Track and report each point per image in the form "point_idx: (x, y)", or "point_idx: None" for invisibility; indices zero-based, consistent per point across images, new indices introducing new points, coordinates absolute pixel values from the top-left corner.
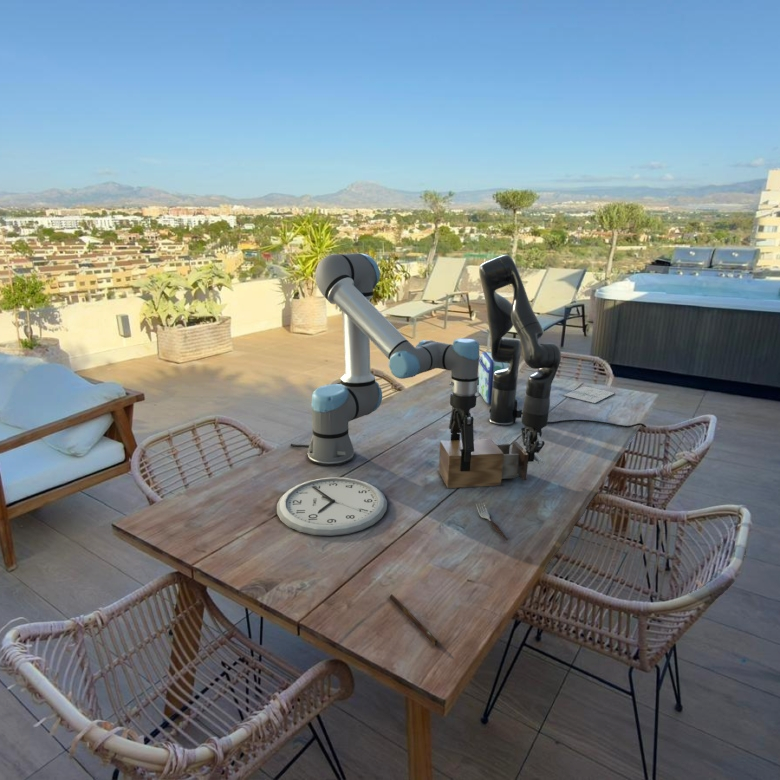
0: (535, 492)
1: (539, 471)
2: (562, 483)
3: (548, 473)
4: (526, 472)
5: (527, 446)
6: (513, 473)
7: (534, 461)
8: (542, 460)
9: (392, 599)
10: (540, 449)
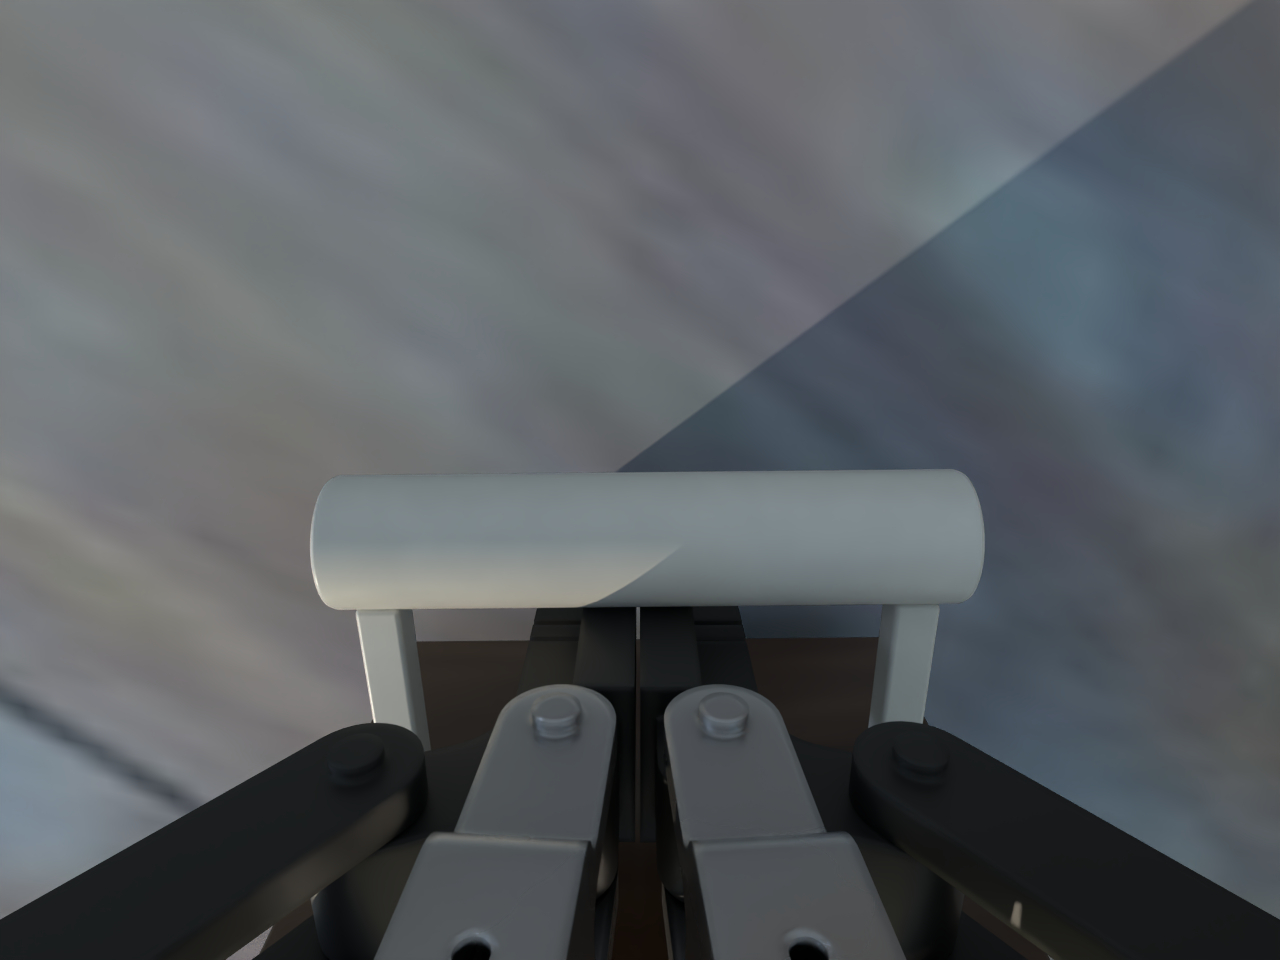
0: (1139, 585)
1: (529, 269)
2: (1015, 47)
3: (614, 137)
4: (923, 720)
5: (609, 954)
6: None
7: (899, 676)
8: (983, 544)
9: None
10: (1167, 872)
